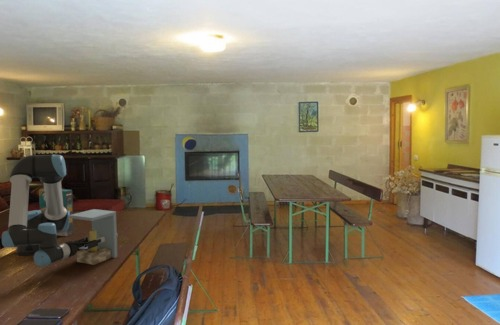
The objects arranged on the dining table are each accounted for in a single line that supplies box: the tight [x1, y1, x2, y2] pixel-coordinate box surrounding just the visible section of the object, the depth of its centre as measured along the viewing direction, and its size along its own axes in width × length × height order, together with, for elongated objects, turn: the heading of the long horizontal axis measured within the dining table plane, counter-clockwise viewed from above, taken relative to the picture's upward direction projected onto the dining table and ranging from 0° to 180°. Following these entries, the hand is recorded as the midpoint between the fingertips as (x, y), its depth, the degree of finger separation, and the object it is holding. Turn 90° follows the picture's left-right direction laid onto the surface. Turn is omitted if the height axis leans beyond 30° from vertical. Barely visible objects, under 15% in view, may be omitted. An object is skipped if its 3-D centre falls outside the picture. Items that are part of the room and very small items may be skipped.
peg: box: [89, 229, 97, 253], centre depth 212 cm, size 4×4×12 cm
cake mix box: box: [38, 188, 75, 237], centre depth 264 cm, size 22×6×30 cm, turn 73°
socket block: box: [76, 247, 112, 266], centre depth 212 cm, size 12×12×5 cm
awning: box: [69, 208, 118, 259], centre depth 212 cm, size 16×17×26 cm
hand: (100, 238), depth 217 cm, fingers open, 4 cm apart
